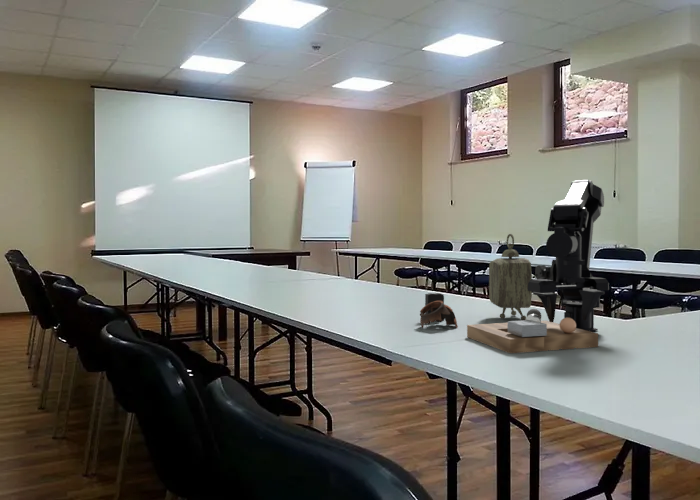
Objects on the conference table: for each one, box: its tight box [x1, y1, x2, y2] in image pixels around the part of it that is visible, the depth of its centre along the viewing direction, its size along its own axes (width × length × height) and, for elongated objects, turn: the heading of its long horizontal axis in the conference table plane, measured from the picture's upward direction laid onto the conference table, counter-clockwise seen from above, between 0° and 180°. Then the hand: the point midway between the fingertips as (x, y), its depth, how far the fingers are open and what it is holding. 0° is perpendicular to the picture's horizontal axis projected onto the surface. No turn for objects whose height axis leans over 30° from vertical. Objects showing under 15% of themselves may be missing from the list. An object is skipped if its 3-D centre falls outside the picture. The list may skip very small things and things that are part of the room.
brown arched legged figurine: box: [419, 301, 458, 329], centre depth 161 cm, size 12×10×8 cm
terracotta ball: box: [559, 317, 576, 333], centre depth 132 cm, size 4×4×4 cm
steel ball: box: [526, 314, 542, 322], centre depth 138 cm, size 4×4×4 cm
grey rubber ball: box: [526, 308, 542, 320], centre depth 147 cm, size 4×4×4 cm
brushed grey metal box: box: [507, 319, 547, 337], centre depth 130 cm, size 6×6×2 cm
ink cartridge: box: [424, 292, 445, 314], centre depth 171 cm, size 5×2×8 cm, turn 103°
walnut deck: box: [466, 320, 599, 354], centre depth 138 cm, size 22×20×3 cm
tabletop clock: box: [488, 233, 533, 321], centre depth 173 cm, size 14×9×25 cm, turn 179°
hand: (568, 321), depth 141 cm, fingers open, 9 cm apart
